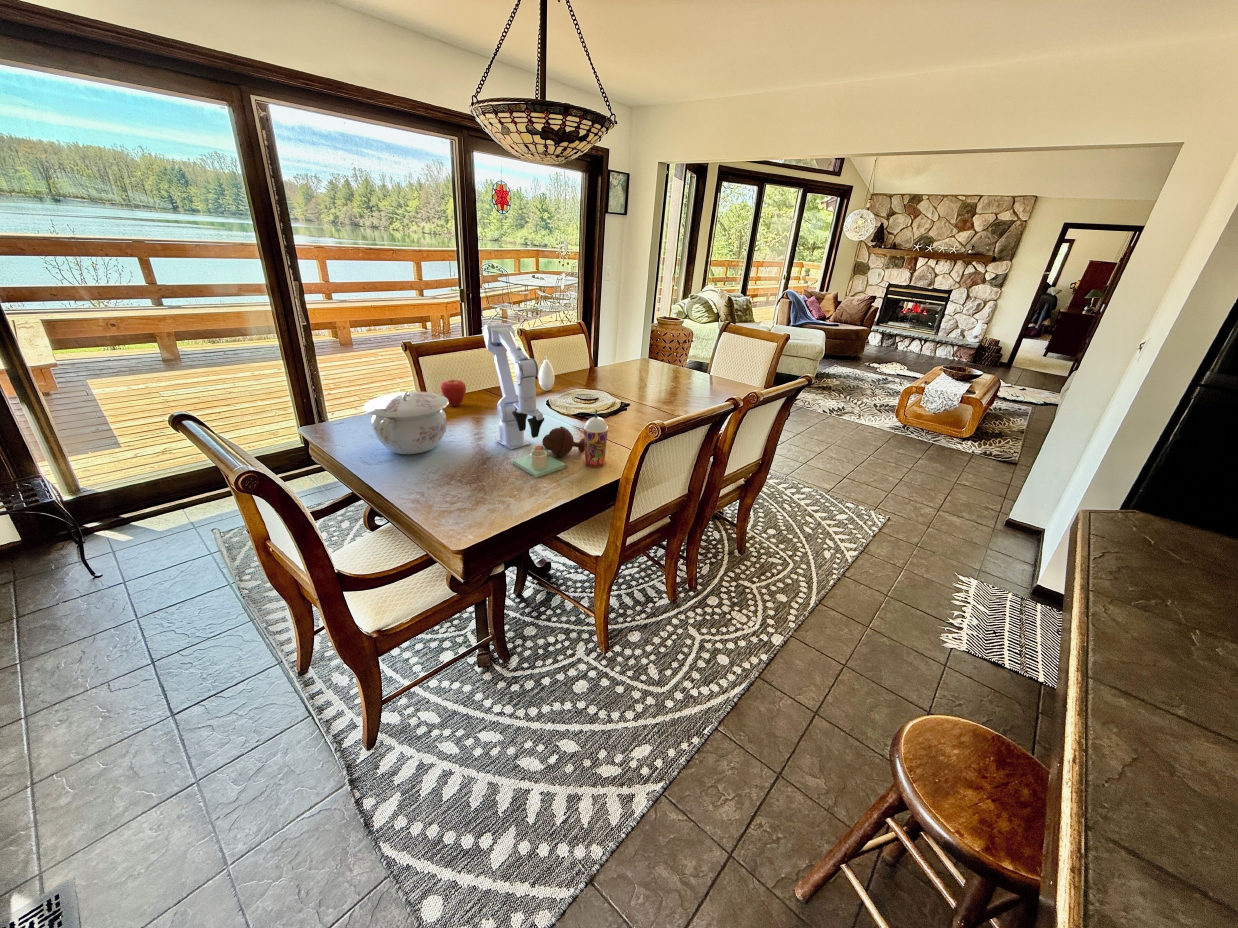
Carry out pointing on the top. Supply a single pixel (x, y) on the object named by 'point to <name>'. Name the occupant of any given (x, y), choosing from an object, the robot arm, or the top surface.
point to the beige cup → (538, 459)
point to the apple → (453, 391)
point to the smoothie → (595, 441)
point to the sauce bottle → (546, 376)
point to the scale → (551, 467)
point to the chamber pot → (408, 420)
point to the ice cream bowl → (561, 442)
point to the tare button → (539, 448)
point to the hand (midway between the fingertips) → (528, 433)
